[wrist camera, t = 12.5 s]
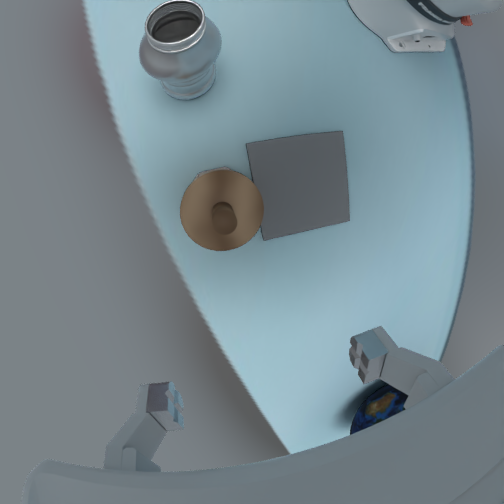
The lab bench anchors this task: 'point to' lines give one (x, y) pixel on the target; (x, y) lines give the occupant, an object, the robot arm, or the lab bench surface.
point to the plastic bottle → (180, 48)
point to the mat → (300, 182)
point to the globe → (379, 408)
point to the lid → (221, 210)
